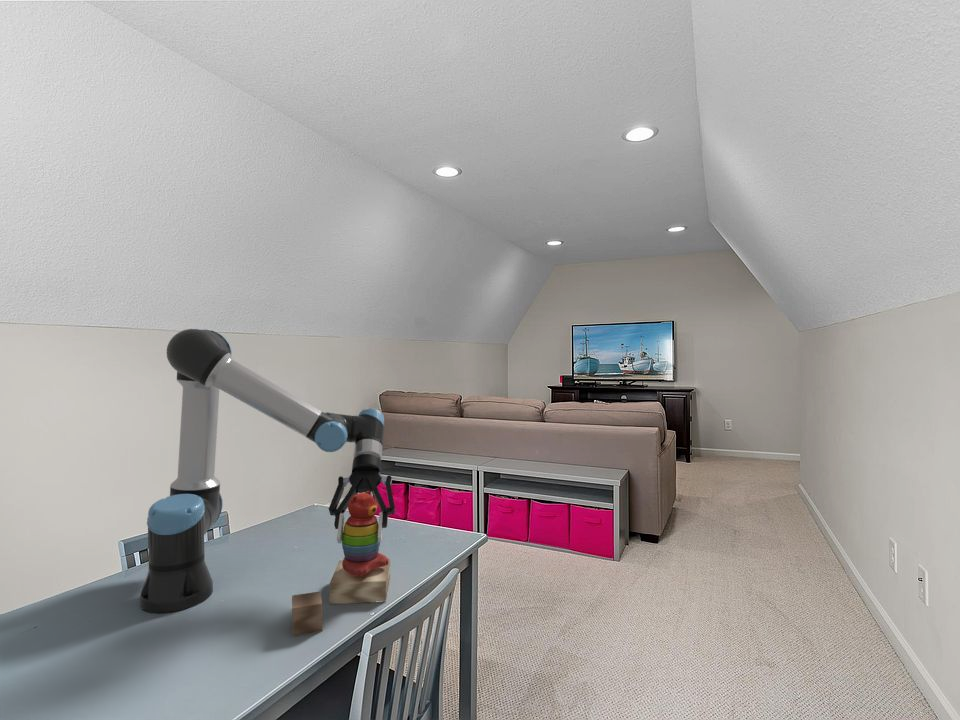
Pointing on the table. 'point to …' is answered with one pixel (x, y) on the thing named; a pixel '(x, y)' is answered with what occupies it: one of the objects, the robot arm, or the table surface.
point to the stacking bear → (361, 536)
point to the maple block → (359, 585)
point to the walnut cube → (306, 613)
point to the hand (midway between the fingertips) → (359, 540)
